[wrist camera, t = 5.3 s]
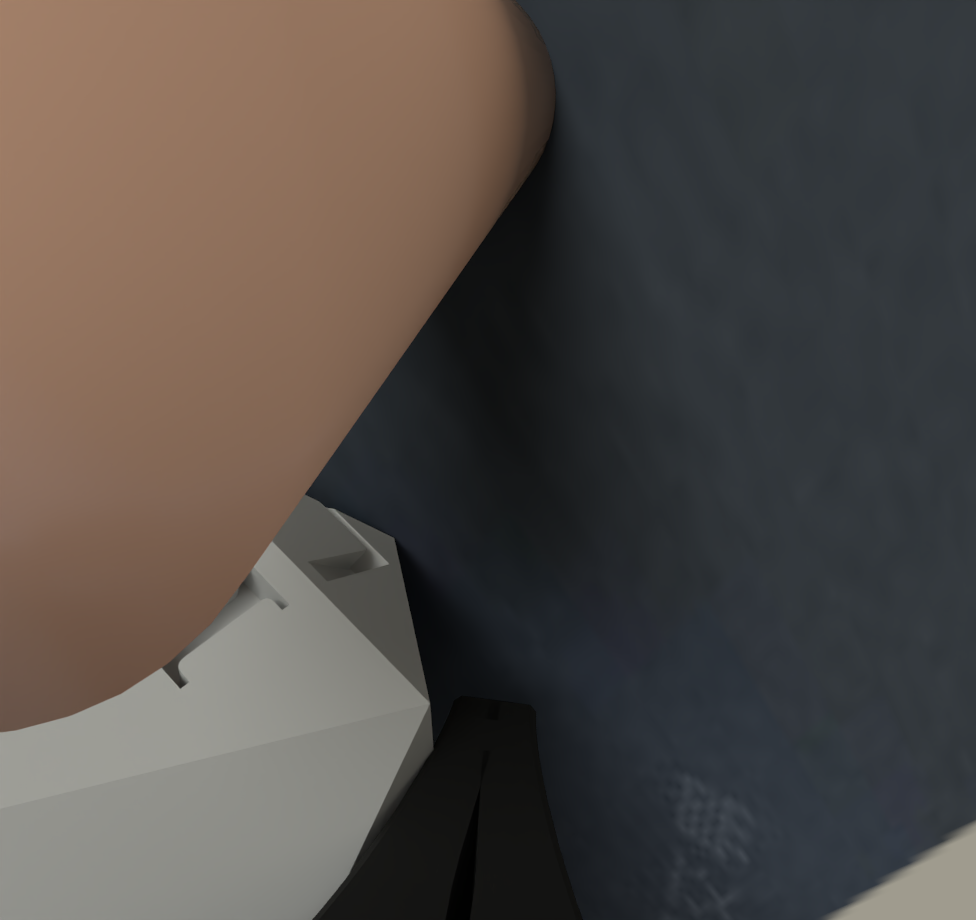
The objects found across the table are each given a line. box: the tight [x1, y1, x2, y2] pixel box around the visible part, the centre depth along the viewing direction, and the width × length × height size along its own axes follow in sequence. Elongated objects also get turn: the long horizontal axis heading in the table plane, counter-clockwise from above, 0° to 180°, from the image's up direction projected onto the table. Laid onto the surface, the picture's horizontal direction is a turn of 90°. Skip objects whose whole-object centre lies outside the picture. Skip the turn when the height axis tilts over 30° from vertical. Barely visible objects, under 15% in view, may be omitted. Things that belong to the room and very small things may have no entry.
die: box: [0, 495, 434, 920], centre depth 11 cm, size 8×9×10 cm
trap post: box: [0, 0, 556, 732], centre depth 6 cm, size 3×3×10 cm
